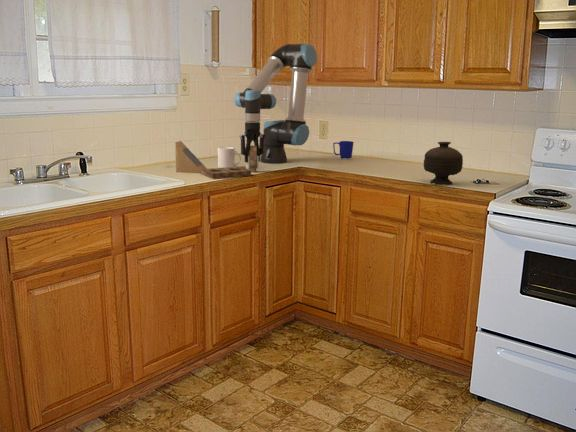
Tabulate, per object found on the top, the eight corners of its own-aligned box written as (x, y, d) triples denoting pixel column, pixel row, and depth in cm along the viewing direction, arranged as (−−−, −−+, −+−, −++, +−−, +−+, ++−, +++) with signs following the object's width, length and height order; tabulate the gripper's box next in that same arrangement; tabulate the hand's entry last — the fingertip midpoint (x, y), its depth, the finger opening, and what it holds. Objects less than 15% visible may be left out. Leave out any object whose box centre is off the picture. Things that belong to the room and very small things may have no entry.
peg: (253, 170, 293) (254, 145, 290) (257, 172, 290) (258, 146, 287) (246, 171, 291) (246, 145, 288) (250, 172, 288) (250, 146, 285)
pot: (415, 182, 267) (421, 139, 264) (427, 180, 282) (433, 139, 279) (453, 188, 258) (460, 143, 255) (463, 185, 273) (470, 143, 270)
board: (238, 171, 290) (238, 166, 289) (250, 175, 278) (251, 170, 278) (201, 174, 279) (201, 169, 279) (213, 178, 268) (213, 173, 267)
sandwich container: (205, 173, 282) (205, 143, 278) (175, 172, 283) (174, 142, 280) (210, 171, 290) (210, 141, 286) (181, 169, 292) (180, 140, 288)
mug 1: (238, 170, 293) (238, 149, 290) (215, 169, 295) (215, 148, 292) (242, 168, 301) (242, 147, 298) (220, 166, 303) (220, 146, 300)
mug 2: (333, 156, 351) (333, 140, 349) (352, 157, 349) (353, 141, 347) (332, 158, 343) (332, 141, 341) (352, 159, 342) (353, 142, 339)
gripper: (264, 120, 292) (263, 166, 298) (233, 121, 283) (233, 168, 289) (271, 122, 286) (270, 168, 291) (240, 122, 277) (240, 170, 283)
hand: (252, 168), depth 290 cm, fingers closed on peg, 4 cm apart
